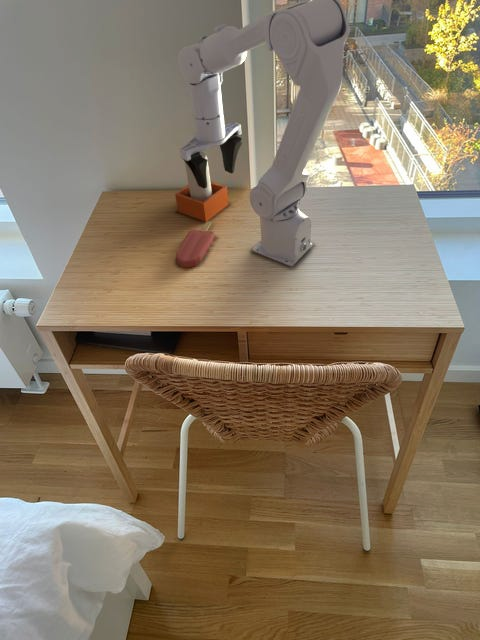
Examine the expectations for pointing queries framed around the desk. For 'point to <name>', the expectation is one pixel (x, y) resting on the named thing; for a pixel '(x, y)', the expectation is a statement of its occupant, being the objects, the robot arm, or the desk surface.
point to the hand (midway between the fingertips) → (216, 178)
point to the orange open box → (199, 208)
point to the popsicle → (195, 246)
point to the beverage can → (196, 190)
